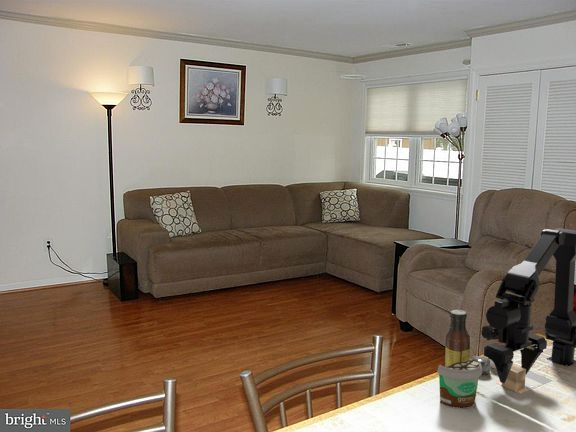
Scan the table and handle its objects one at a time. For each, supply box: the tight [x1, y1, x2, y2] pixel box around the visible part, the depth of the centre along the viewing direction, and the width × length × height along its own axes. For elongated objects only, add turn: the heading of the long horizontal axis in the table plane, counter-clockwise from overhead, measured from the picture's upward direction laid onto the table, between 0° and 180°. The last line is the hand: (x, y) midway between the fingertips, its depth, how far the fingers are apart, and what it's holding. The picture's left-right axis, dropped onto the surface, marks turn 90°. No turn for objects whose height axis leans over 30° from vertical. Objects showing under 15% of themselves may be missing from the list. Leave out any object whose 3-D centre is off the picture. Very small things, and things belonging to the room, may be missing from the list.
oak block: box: [502, 363, 526, 392], centre depth 137 cm, size 4×4×5 cm
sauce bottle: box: [444, 309, 471, 367], centre depth 138 cm, size 6×6×20 cm
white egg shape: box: [489, 359, 497, 370], centre depth 149 cm, size 4×4×6 cm
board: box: [496, 370, 554, 395], centre depth 140 cm, size 14×7×1 cm, turn 123°
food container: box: [436, 356, 483, 409], centre depth 128 cm, size 12×6×10 cm, turn 117°
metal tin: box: [470, 355, 491, 376], centre depth 146 cm, size 5×5×4 cm
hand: (513, 378), depth 137 cm, fingers open, 9 cm apart
